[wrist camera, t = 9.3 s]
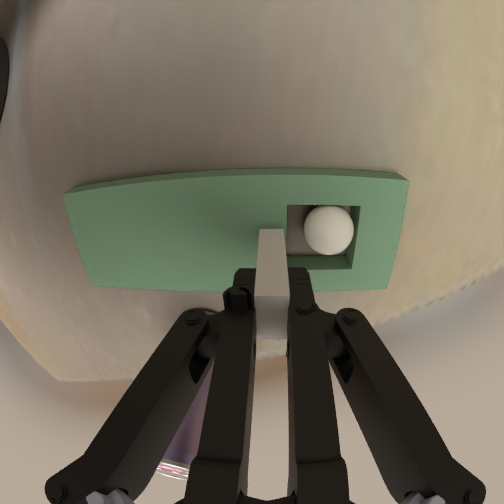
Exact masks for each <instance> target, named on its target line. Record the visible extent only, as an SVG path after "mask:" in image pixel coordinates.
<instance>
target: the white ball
mask: <svg viewBox="0 0 504 504" xmlns="http://www.w3.org/2000/svg"><path fill="white" fill-rule="evenodd" d="M353 233H354V226H353V222H352V219H351V217H350V216H349V214H348V213H347V212H346V211H345V210H344V209H343V208H341V207H339V206H337V205H320V206H318V207H316V208H314V209H313V210H312V211H311V212H310V213H309V214H308V216H307V218H306V220H305V223H304V236H305V239H306V241H307V243H308V244H309V246H310V247H311V248H312V249H313V250H315V251H316V252H318V253H321V254H324V255H334V254H337V253H340V252H342V251H343V250H344V249H346V248H347V246H348V245H349V244H350V242H351V240H352V237H353Z"/></svg>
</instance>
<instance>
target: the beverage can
mask: <svg viewBox="0 0 504 504" xmlns="http://www.w3.org/2000/svg"><path fill="white" fill-rule="evenodd" d="M204 312H205V313H206V314H207V315H211V314H215V313H212V312H208V311H204ZM213 365H214V362H213V364H212V366H211V368H210V370H209V372H208V374H207V376H206V378H205V379H204V381H203V383H202V385H201V387H200V389H199V391H198V393H197V395H196V397H195V398H194V400H193V402H192V404H191V406H190V408H189V410H188V412H187V414H186V415H185V417H184V419H183V421H182V423H181V425H180V427H179V429H178V430H177V432H176V434H175V436H174V438H173V440H172V442H171V443H170V445H169V447H168V449H167V451H166V453H165V454H164V456H163V458H162V460H161V462H160V464H159V465H158V467H157V469H156V471H155V472H156V473H159V474H162V475H166V476H169V477H173V478H178V479H183V480H188V474H189V469H190V465H191V462H192V460H193V459H194V458H195V457H196V455H197V452H198V447H199V441H200V435H201V430H202V424H203V419H204V413H205V408H206V402H207V397H208V392H209V386H210V381H211V376H212V371H213Z"/></svg>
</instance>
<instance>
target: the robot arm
mask: <svg viewBox="0 0 504 504" xmlns="http://www.w3.org/2000/svg"><path fill="white" fill-rule="evenodd" d="M7 80H8V53H7V48H6V45H5V43H4V41H3V40H2V39H1V38H0V118H1V114H2V110H3V106H4V101H5V95H6V89H7ZM233 280H234V281H233V286H232V287H229V288H228V289H226V290H225V291H224V293H223V300H224V307H225V309H224V310H223V311H221V312H219V313H216V314H211V315H207V314H206V313H205V312H204V311H202V310H200V309H191V310H188V311H185V312H183V313H182V314H181V315H180V316H179V318H178V319H177V321H176V322H175V323H174V325H173V326H172V328H171V329H170V330H169V332H168V333H167V334H166V336H165V337H164V339H163V340H162V341H161V343H160V344H159V346H158V347H157V348H156V350H155V351H154V353H153V354H152V355H151V357H150V358H149V360H148V361H147V363H146V364H145V365H144V367H143V368H142V370H141V371H140V372H139V374H138V375H137V377H136V378H135V380H134V381H133V382H132V384H131V385H130V387H129V388H128V390H127V391H126V393H125V394H124V395H123V397H122V398H121V400H120V401H119V403H118V404H117V406H116V407H115V408H114V410H113V411H112V413H111V414H110V416H109V417H108V419H107V420H106V422H105V423H104V425H103V426H102V428H101V429H100V431H99V432H98V434H97V435H96V437H95V438H94V440H93V441H92V443H91V444H90V446H89V447H88V449H87V450H86V452H85V453H84V455H82V456H81V457H80V458H79V459H77V460H75V461H74V462H72V463H71V464H70V465H68V466H67V467H65V468H64V469H62V470H61V471H59V472H58V473H56V474H55V475H53V476H52V477H50V478H49V479H48V480H47V481H46V484H45V494H46V496H47V499H48V500H49V502H50V503H51V504H134V502H133V501H134V500H135V499H136V498H137V497H138V496H139V495H140V494H141V493H142V492H143V490H144V489H145V488H146V486H147V485H148V483H149V482H150V480H151V478H152V476H153V475H154V473H155V471H156V469H157V467H158V465H159V464H160V462H161V460H162V458H163V456H164V454H165V453H166V451H167V449H168V447H169V445H170V443H171V442H172V440H173V438H174V436H175V434H176V432H177V430H178V429H179V427H180V425H181V423H182V421H183V419H184V417H185V415H186V414H187V412H188V410H189V408H190V406H191V404H192V402H193V400H194V398H195V397H196V395H197V393H198V391H199V389H200V387H201V385H202V383H203V381H204V379H205V378H206V376H207V374H208V372H209V370H210V368H211V366H212V364H213V362H214V365H213V371H212V376H211V381H210V386H209V392H208V397H207V402H206V408H205V413H204V419H203V424H202V430H201V435H200V441H199V447H198V452H197V455H196V457H195V458H194V459H193V460H192V462H191V465H190V469H189V474H188V480H187V485H186V491H185V497H184V499H182V500H180V501H178V502H176V503H175V504H355V503H353V502H351V501H350V500H349V487H348V475H347V467H346V464H345V460H344V459H343V458H342V457H341V454H340V444H339V437H338V436H339V435H338V426H337V418H336V410H335V402H334V395H333V389H332V381H331V374H330V368H329V362H330V364H331V367H332V369H333V370H334V373H335V375H336V377H337V379H338V381H339V383H340V385H341V387H342V390H343V392H344V394H345V396H346V398H347V400H348V402H349V405H350V407H351V409H352V411H353V413H354V415H355V418H356V420H357V422H358V424H359V426H360V429H361V431H362V433H363V435H364V437H365V440H366V442H367V444H368V446H369V448H370V451H371V452H372V455H373V457H374V459H375V462H376V464H377V466H378V468H379V471H380V473H381V475H382V478H383V480H384V482H385V484H386V486H387V488H388V490H389V492H390V494H391V495H392V497H393V498H394V499H395V501H396V502H397V503H398V504H482V503H483V501H484V499H485V495H486V489H485V485H484V484H483V483H482V482H481V481H480V480H479V479H478V478H477V477H475V476H474V475H473V474H472V473H470V472H469V471H468V470H467V469H465V468H464V467H463V466H462V465H461V464H459V463H458V462H457V461H456V460H455V459H453V458H452V456H451V454H450V452H449V451H448V449H447V447H446V445H445V443H444V441H443V440H442V438H441V436H440V434H439V432H438V431H437V429H436V427H435V426H434V424H433V422H432V421H431V418H430V417H429V415H428V414H427V412H426V410H425V409H424V407H423V405H422V403H421V402H420V400H419V398H418V397H417V395H416V393H415V392H414V390H413V389H412V387H411V385H410V384H409V382H408V381H407V379H406V377H405V376H404V374H403V373H402V371H401V370H400V368H399V367H398V365H397V364H396V362H395V360H394V359H393V357H392V356H391V354H390V353H389V351H388V350H387V348H386V347H385V345H384V344H383V342H382V341H381V339H380V338H379V336H378V335H377V333H376V332H375V331H374V329H373V328H372V326H371V325H370V323H369V322H368V320H367V319H366V318H365V316H364V315H363V314H362V313H361V312H360V311H359V310H356V309H353V308H344V309H341V310H339V311H338V312H337V314H332V313H328V312H325V311H323V310H321V309H320V308H319V307H318V305H317V304H316V303H315V300H314V294H313V289H312V285H311V280H310V274H309V272H308V271H307V269H306V268H305V267H287V258H286V248H285V238H284V229H260V230H259V243H258V255H257V267H256V268H239V269H238V270H237V271H236V273H235V274H234V279H233ZM256 339H287V352H286V357H287V363H288V364H287V365H288V407H289V408H288V409H289V477H288V489H287V497H283V498H280V499H275V500H269V501H265V500H260V499H256V498H252V497H248V496H247V488H248V482H247V481H248V480H247V479H248V463H249V449H250V435H251V421H252V407H253V391H254V375H255V360H256ZM328 360H329V362H328Z"/></svg>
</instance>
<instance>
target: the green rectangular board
mask: <svg viewBox="0 0 504 504" xmlns="http://www.w3.org/2000/svg"><path fill="white" fill-rule="evenodd" d="M408 186H409V180H407V179H406V178H404V177H402V176H401V175H399V174H398V173H388V172H376V171H362V170H345V169H321V168H249V169H224V170H207V171H193V172H181V173H170V174H160V175H151V176H142V177H134V178H127V179H120V180H113V181H106V182H100V183H94V184H88V185H83V186H77V187H75V188H73V189H71V190H69V191H68V192H66V193H64V194H63V199H64V203H65V207H66V211H67V214H68V218H69V221H70V225H71V228H72V232H73V235H74V238H75V241H76V244H77V247H78V250H79V253H80V256H81V259H82V262H83V264H84V267H85V270H86V272H87V275H88V278H89V280H90V283H91V285H92V286H99V287H114V288H131V289H152V290H177V291H214V292H224V291H225V290H226V289H228V288H229V287H232V286H233V281H234V280H233V279H234V274H235V273H236V271H237V270H238V269H239V268H256V267H257V255H258V243H259V230H260V229H284V238H285V248H286V235H287V205H346V206H352V209H351V219H352V222H353V226H354V233H353V237H352V240H351V242H350V244H349V245H348V246H347V250H346V256H286V258H287V267H305V268H306V269H307V271H308V272H309V274H310V280H311V285H312V289H313V291H346V290H371V289H387V286H388V283H389V279H390V276H391V272H392V268H393V264H394V260H395V256H396V252H397V247H398V243H399V238H400V233H401V228H402V223H403V218H404V212H405V206H406V200H407V193H408Z"/></svg>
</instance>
